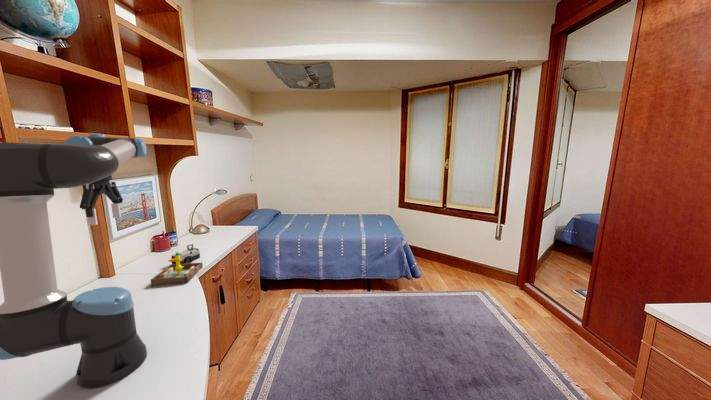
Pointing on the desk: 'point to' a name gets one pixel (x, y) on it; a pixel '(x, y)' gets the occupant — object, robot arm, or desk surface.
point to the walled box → (169, 275)
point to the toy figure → (177, 263)
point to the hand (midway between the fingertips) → (105, 221)
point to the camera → (188, 255)
